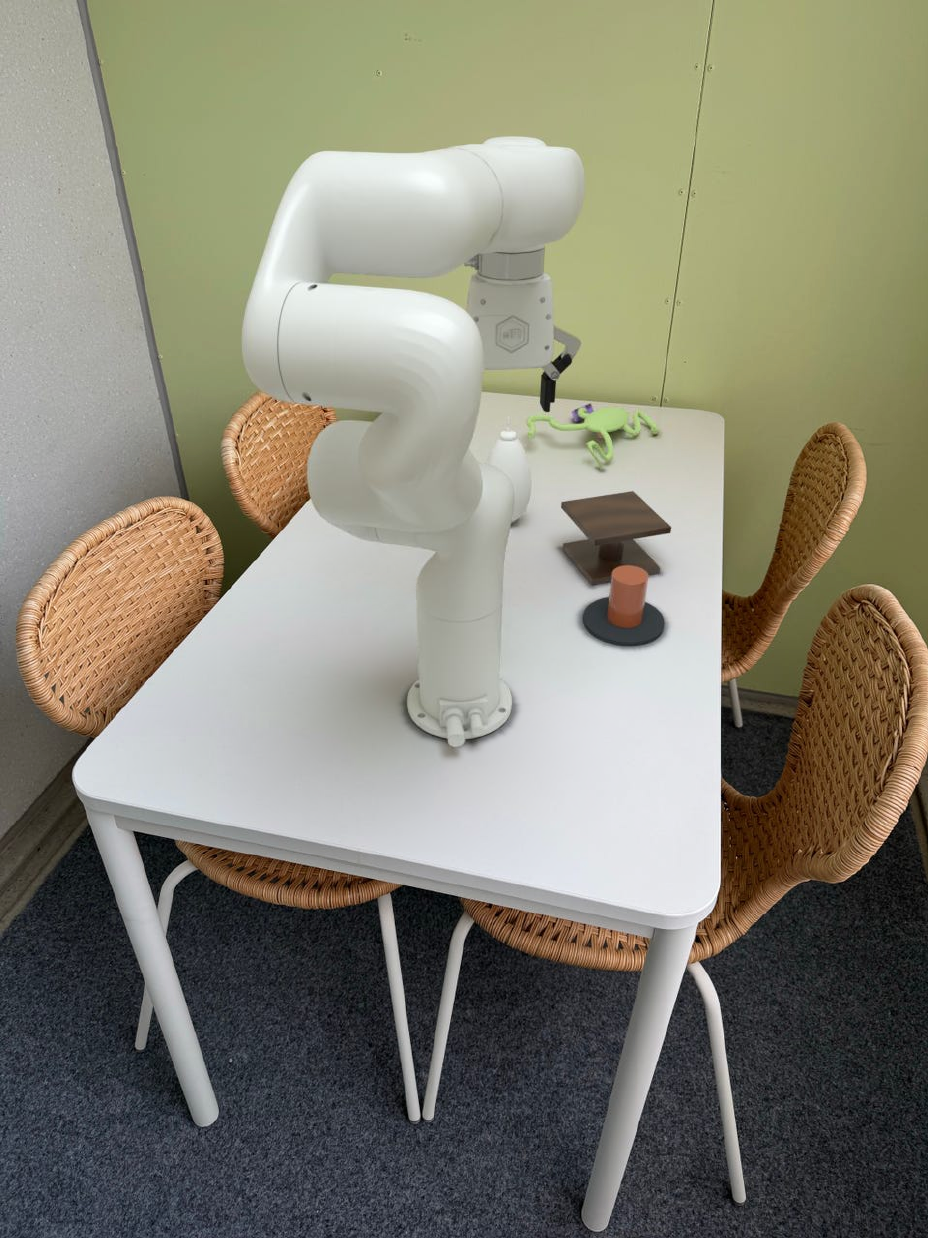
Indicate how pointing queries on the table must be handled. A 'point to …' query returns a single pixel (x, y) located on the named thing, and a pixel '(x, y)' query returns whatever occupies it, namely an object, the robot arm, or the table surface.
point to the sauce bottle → (513, 467)
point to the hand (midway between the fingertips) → (506, 409)
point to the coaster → (616, 635)
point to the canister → (627, 596)
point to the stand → (612, 534)
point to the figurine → (597, 425)
